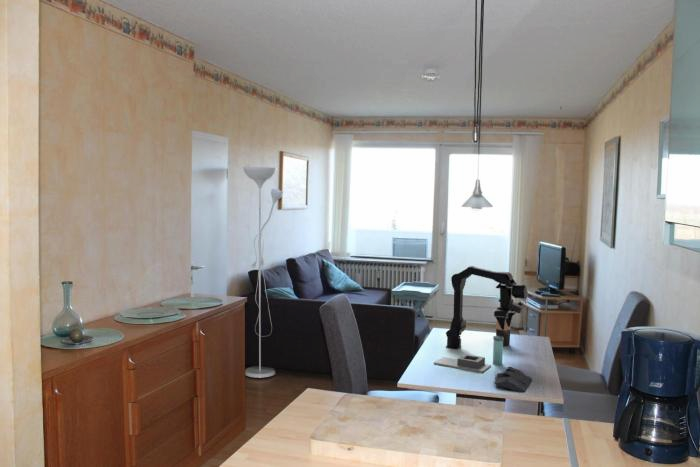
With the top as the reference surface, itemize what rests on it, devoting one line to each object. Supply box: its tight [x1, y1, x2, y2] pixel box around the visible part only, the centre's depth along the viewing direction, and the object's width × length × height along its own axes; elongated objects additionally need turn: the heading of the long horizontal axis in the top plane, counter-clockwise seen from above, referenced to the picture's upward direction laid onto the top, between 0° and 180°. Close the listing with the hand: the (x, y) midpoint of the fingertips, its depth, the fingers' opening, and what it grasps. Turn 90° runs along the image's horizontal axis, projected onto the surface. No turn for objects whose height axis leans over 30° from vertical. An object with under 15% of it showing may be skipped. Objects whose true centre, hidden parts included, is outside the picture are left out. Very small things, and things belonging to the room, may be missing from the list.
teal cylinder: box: [492, 335, 504, 366], centre depth 280 cm, size 5×5×13 cm
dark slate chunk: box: [494, 366, 533, 393], centre depth 251 cm, size 15×22×5 cm
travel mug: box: [495, 306, 512, 347], centre depth 318 cm, size 8×8×20 cm
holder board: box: [433, 353, 492, 374], centre depth 276 cm, size 24×12×4 cm, turn 59°
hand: (506, 328), depth 294 cm, fingers open, 9 cm apart
